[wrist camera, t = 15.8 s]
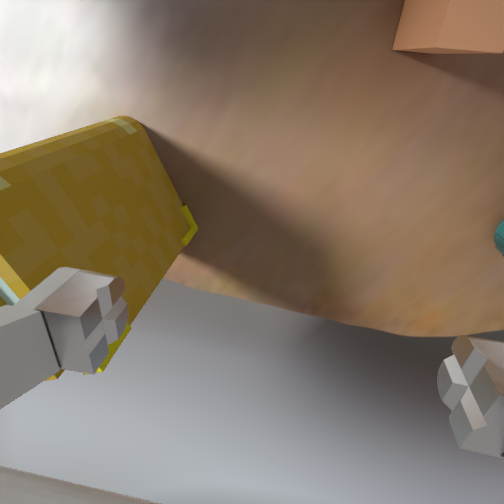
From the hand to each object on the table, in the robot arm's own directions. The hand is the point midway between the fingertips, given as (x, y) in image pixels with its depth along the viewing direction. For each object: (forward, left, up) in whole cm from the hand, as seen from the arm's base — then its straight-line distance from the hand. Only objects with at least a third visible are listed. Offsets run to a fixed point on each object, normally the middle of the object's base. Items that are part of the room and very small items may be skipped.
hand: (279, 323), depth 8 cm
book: (-1, -22, -34) cm, 41 cm away
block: (-3, +13, -34) cm, 37 cm away
